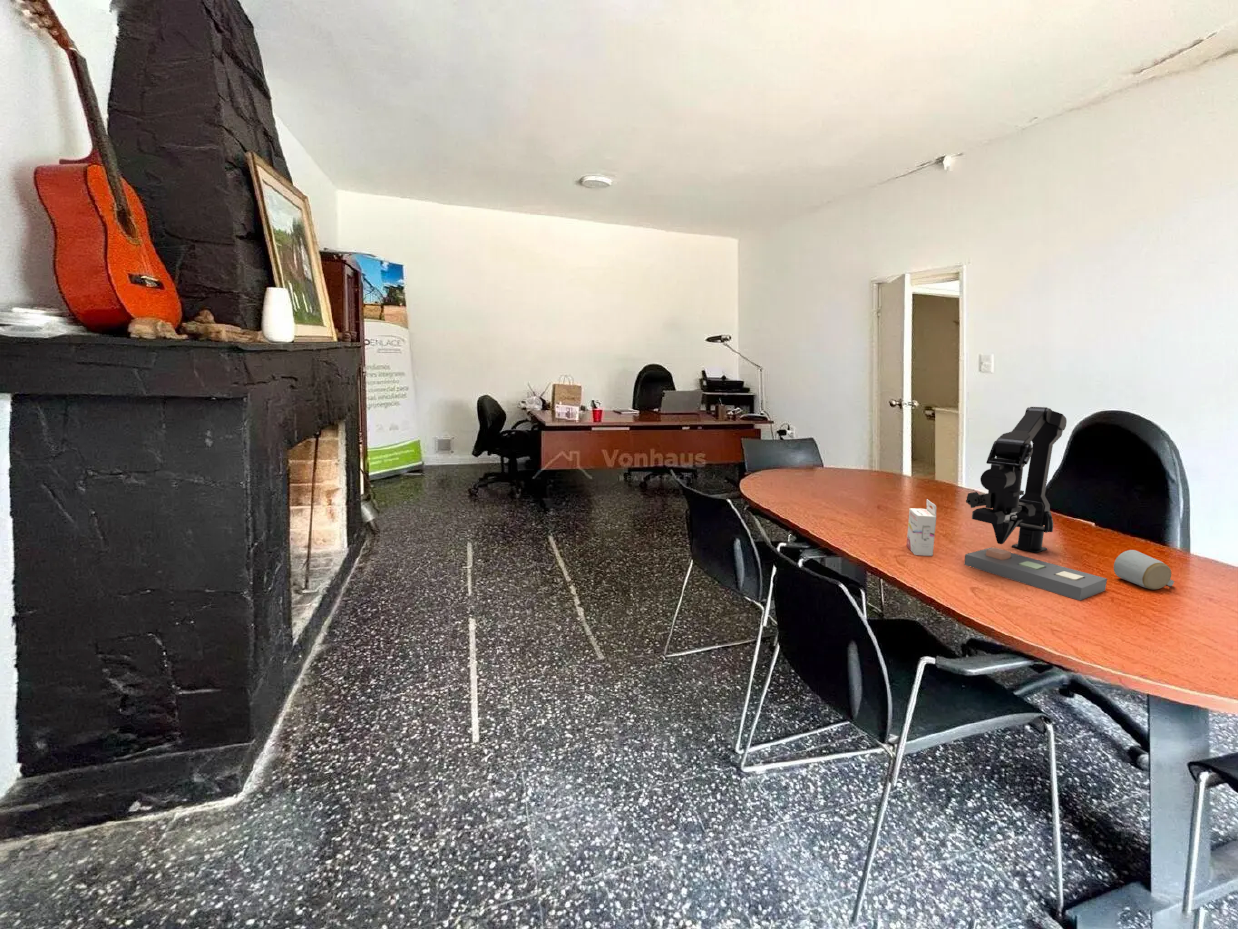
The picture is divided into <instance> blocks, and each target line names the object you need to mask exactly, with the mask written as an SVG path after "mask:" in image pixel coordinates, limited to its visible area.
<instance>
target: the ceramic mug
mask: <svg viewBox="0 0 1238 929" xmlns="http://www.w3.org/2000/svg"><path fill="white" fill-rule="evenodd" d="M1113 572H1114V574H1115V575H1116V576H1117V577H1118V578H1120V579H1121V580H1125V581H1127V582H1129V583H1131V584H1134V585H1137V586H1139V587H1142V588H1144V589H1148V590H1159V589H1162V588H1164V587H1165V586H1168V587H1173V585H1174V584H1175V581H1174V580H1172V569H1171V568H1170V567H1169V565H1168V564H1166V563H1164V562H1163V561H1162V560H1159V559H1156V558H1155V557H1152V556H1150V555H1147V554H1145V553H1142V552H1140V551H1139V550H1136V549H1128V550H1124V551H1123V552H1122V553H1120V554H1119V555H1118V556H1116V558H1115V560H1114V563H1113Z"/></svg>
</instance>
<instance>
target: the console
mask: <svg viewBox="0 0 1238 929" xmlns="http://www.w3.org/2000/svg"><path fill="white" fill-rule="evenodd" d="M991 548H993V547H988V548H984V549H980V550H977V551H971V552H969V553H965V555H964V565H963V566H967V567H969V566H971V567H970V568H973V567H974V568H973V569H976V570H980V571H984V572H985V573H990V574H993V575H996V576H998V577H1003V578H1005V579H1008V580H1013V581H1015V582H1019V583H1022V584H1025V585H1028V586H1030V587H1031V586H1032V587H1034V588H1037V589H1041V590H1044V591H1047V592H1051V593H1055V594H1058V595H1060V596H1064V597H1067V598H1070V599H1074V600H1077V601H1082V600H1085V599H1087V598H1090V597H1092V596H1096V595H1098V594H1100V593H1102V592H1105V591H1106V586H1107V581H1108V579H1107V577H1102V576H1099V575H1095V574H1092V573H1089V572H1084V571H1080V570H1077V569H1072V568H1069V567H1066V566H1062V565H1058V564H1054V563H1051V562H1046V561H1044V560H1043V561H1042V560H1040V559H1035V558H1032V557H1028V556H1025V555H1021V554H1017V553H1013V552H1011V558H1009V559H1005V560H1000V559H996V558H993V557H989V556H986V550H988V549H991ZM1026 561H1029V562H1033V563H1037V564H1040V565H1044V566H1045V568H1042V569H1039V570H1035V569H1031V568H1028V567H1024V566H1021V565H1019V563H1023V562H1026ZM1063 571H1066V572H1069V573H1073V574H1077V575H1080V576H1084V577H1083V579H1080V580H1078V581H1074V580H1070V579H1067V578H1063V577H1059V576H1056V575H1055V574H1057V573H1060V572H1063Z"/></svg>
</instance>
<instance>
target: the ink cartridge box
mask: <svg viewBox="0 0 1238 929" xmlns="http://www.w3.org/2000/svg"><path fill="white" fill-rule="evenodd" d="M936 526H937V505H936V504H935V503H933V502H932V501H930V500H929V499H928V498H926V508H914V507H913V508H912V507H911V508H909V512H908V525H907V534H906V547H907V548H908V549H909V550H910V551H911V553H913V555H914V556H924V557H925V556H929V557H932V556H934V549H935V548H934V547H935V546H934V545H935V534H936Z"/></svg>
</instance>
